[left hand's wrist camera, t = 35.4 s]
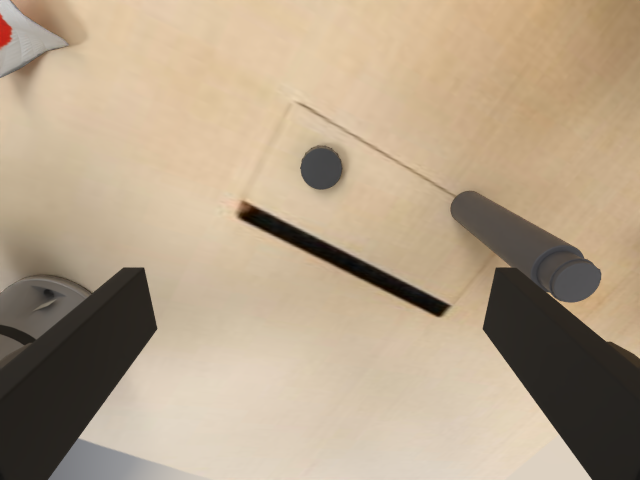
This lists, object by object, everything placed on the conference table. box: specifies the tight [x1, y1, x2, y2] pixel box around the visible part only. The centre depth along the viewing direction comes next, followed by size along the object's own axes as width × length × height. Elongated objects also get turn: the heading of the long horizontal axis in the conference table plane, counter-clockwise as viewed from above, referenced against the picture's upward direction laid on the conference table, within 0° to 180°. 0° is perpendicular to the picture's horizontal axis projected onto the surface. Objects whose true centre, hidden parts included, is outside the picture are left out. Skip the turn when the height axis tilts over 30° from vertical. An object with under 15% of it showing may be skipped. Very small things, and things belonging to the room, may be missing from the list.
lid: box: [300, 146, 342, 189], centre depth 40 cm, size 5×5×2 cm
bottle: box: [451, 191, 601, 302], centre depth 33 cm, size 4×4×20 cm
